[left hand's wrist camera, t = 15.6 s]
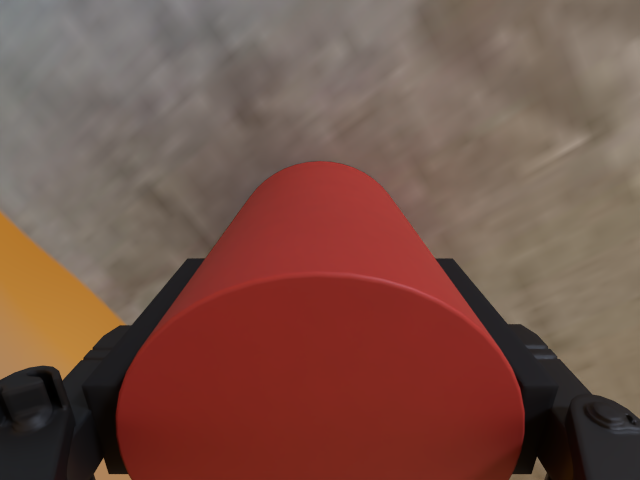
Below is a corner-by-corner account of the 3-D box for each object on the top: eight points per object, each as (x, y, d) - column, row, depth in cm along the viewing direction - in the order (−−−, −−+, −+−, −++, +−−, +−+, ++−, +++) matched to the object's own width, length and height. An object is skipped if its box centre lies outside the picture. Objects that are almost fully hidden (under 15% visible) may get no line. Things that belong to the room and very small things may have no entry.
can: (219, 174, 17) (42, 306, 6) (397, 148, 17) (544, 241, 6) (256, 323, 20) (181, 585, 9) (407, 305, 20) (515, 557, 9)
